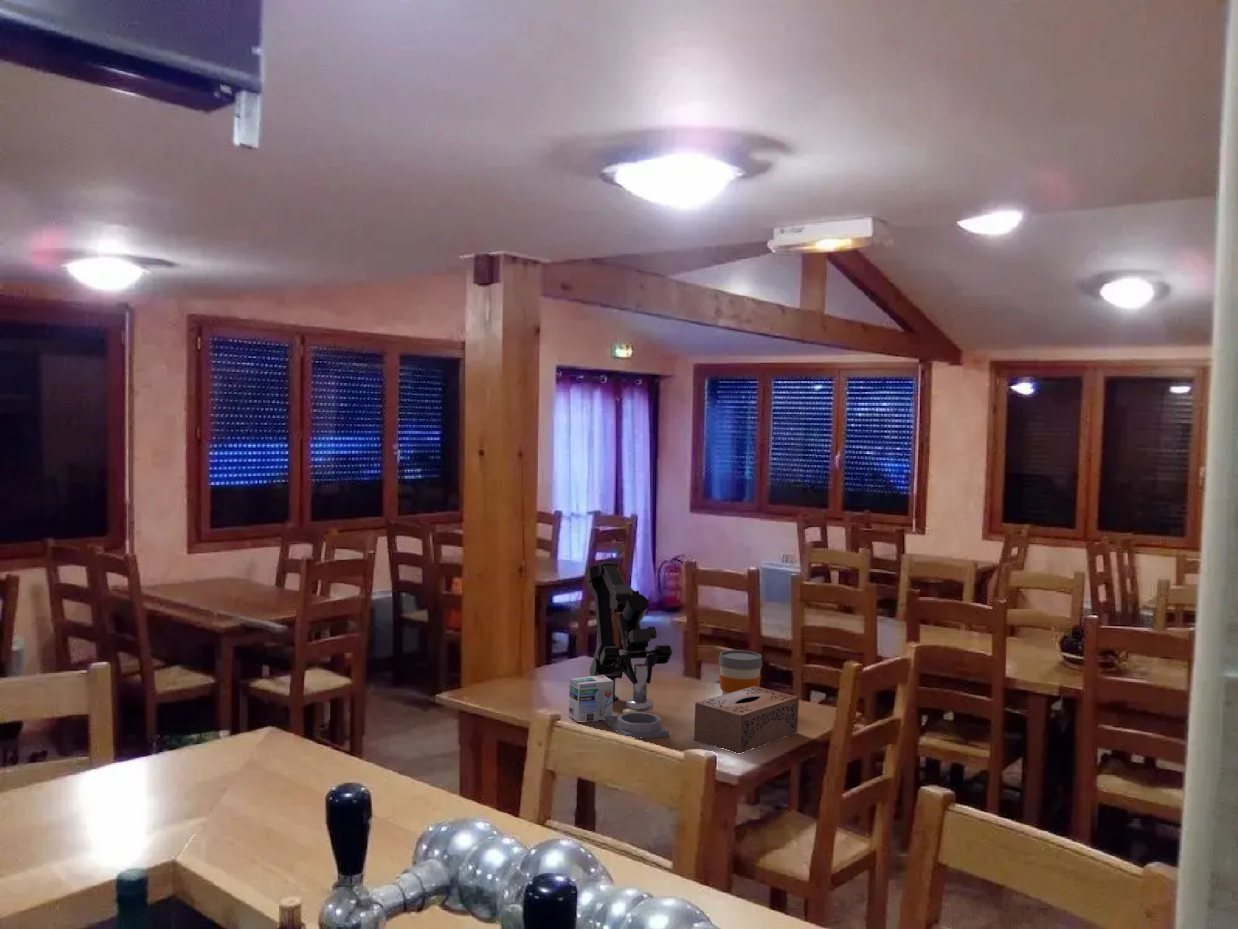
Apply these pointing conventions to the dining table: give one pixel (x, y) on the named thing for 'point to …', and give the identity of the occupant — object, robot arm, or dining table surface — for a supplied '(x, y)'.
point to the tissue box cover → (746, 718)
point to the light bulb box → (590, 698)
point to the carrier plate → (634, 734)
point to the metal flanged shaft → (640, 690)
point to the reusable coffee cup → (739, 670)
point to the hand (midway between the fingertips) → (642, 683)
